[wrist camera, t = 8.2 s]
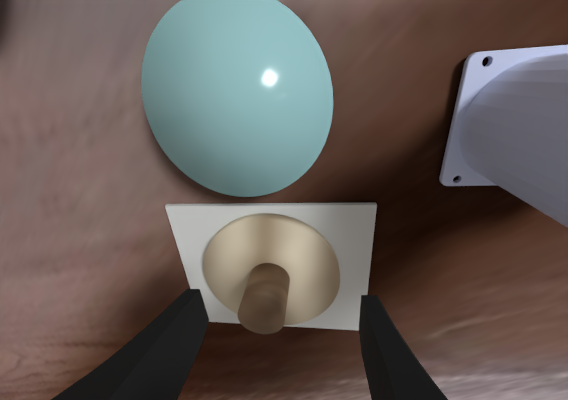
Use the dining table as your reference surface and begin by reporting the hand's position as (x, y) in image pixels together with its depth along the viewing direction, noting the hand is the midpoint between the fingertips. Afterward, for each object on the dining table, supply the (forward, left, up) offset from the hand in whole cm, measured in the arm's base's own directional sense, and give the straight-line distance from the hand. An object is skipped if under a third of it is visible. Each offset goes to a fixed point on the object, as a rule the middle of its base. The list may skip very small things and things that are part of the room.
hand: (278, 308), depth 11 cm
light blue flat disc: (+3, -8, -10) cm, 13 cm away
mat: (+2, +7, -10) cm, 12 cm away
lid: (+2, +6, -9) cm, 12 cm away
